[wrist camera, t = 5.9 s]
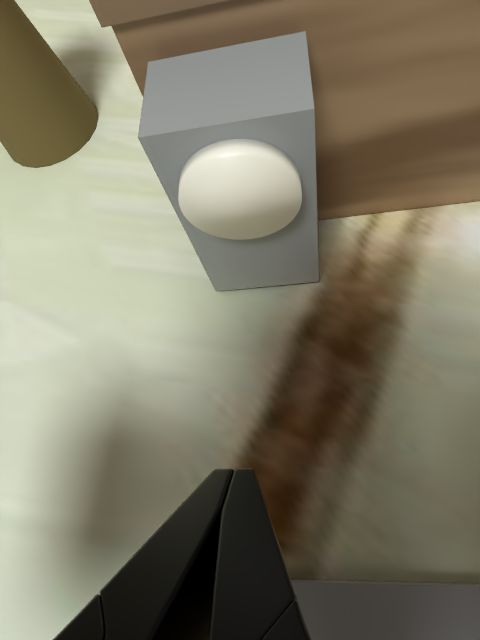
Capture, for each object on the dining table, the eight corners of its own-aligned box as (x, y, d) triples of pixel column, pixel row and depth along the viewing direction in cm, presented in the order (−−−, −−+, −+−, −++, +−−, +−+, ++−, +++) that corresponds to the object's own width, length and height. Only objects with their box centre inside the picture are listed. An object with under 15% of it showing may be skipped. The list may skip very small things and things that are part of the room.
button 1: (320, 293, 17) (316, 126, 10) (215, 303, 18) (135, 154, 10) (313, 223, 19) (305, 31, 11) (217, 235, 20) (148, 61, 12)
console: (660, 183, 17) (1095, -238, 7) (199, 237, 20) (86, -5, 11) (615, 101, 19) (911, -312, 9) (202, 162, 22) (110, -98, 13)
